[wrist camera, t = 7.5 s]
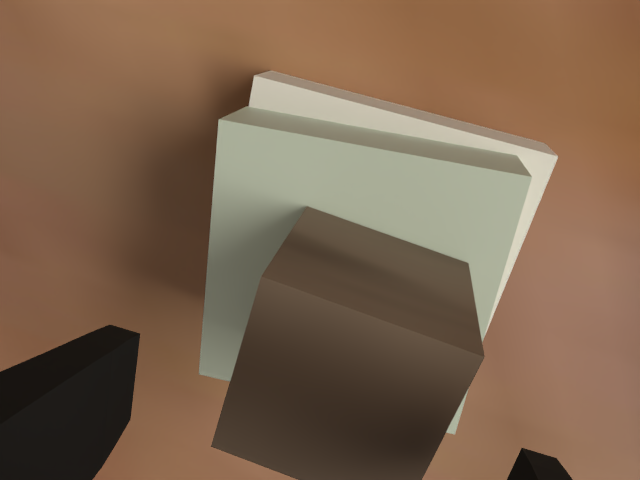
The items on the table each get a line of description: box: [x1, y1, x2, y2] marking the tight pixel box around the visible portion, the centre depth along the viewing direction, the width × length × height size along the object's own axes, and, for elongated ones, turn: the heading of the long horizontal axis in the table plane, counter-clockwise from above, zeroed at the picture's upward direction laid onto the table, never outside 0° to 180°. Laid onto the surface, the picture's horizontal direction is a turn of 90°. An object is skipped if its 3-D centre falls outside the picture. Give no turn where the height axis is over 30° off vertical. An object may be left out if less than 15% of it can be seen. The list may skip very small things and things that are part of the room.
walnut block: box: [211, 206, 484, 480], centre depth 14 cm, size 4×4×4 cm
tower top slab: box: [199, 106, 532, 434], centre depth 17 cm, size 8×8×2 cm
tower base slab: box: [249, 71, 558, 334], centre depth 19 cm, size 9×9×2 cm
